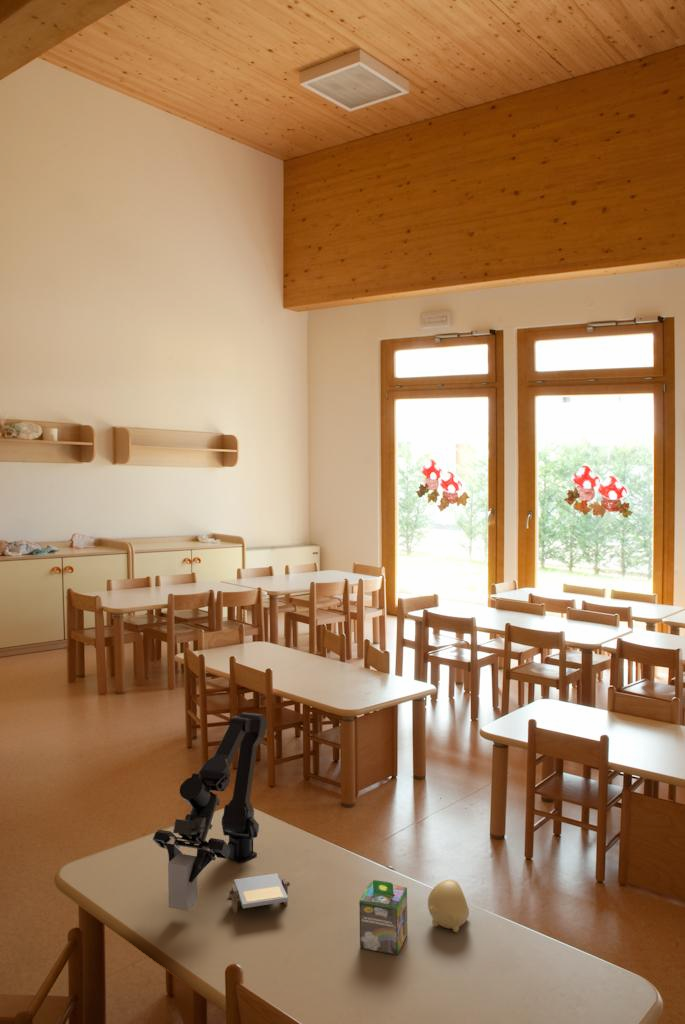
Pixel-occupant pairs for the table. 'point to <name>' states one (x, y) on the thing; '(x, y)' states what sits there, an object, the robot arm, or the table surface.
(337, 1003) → the table surface
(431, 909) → the toy pig
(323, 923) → the table surface
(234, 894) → the trapdoor frame
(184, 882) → the tall grey rectangular block
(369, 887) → the chalk box
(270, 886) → the trapdoor
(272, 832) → the table surface
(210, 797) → the robot arm
